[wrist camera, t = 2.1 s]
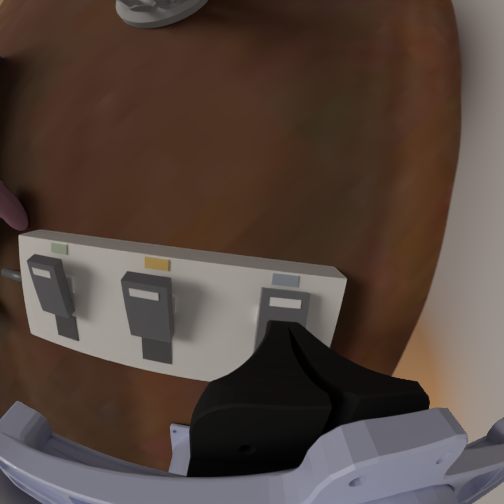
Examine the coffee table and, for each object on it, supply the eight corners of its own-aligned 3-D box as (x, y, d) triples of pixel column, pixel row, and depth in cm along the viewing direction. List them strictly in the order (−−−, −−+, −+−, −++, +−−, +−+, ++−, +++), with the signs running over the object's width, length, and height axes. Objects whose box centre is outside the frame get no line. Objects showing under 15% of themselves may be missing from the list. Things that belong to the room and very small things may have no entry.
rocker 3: (296, 360, 17) (299, 365, 15) (252, 356, 16) (253, 362, 15) (306, 291, 17) (310, 293, 16) (261, 287, 17) (262, 288, 16)
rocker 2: (174, 332, 17) (170, 343, 16) (135, 324, 17) (130, 335, 16) (171, 277, 15) (166, 288, 14) (127, 270, 15) (120, 280, 14)
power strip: (309, 367, 22) (317, 392, 18) (17, 309, 21) (-2, 321, 18) (334, 266, 20) (349, 280, 17) (9, 225, 19) (-14, 230, 16)
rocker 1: (75, 310, 17) (68, 319, 16) (49, 302, 17) (42, 311, 16) (61, 259, 15) (52, 267, 14) (34, 253, 15) (25, 261, 14)
